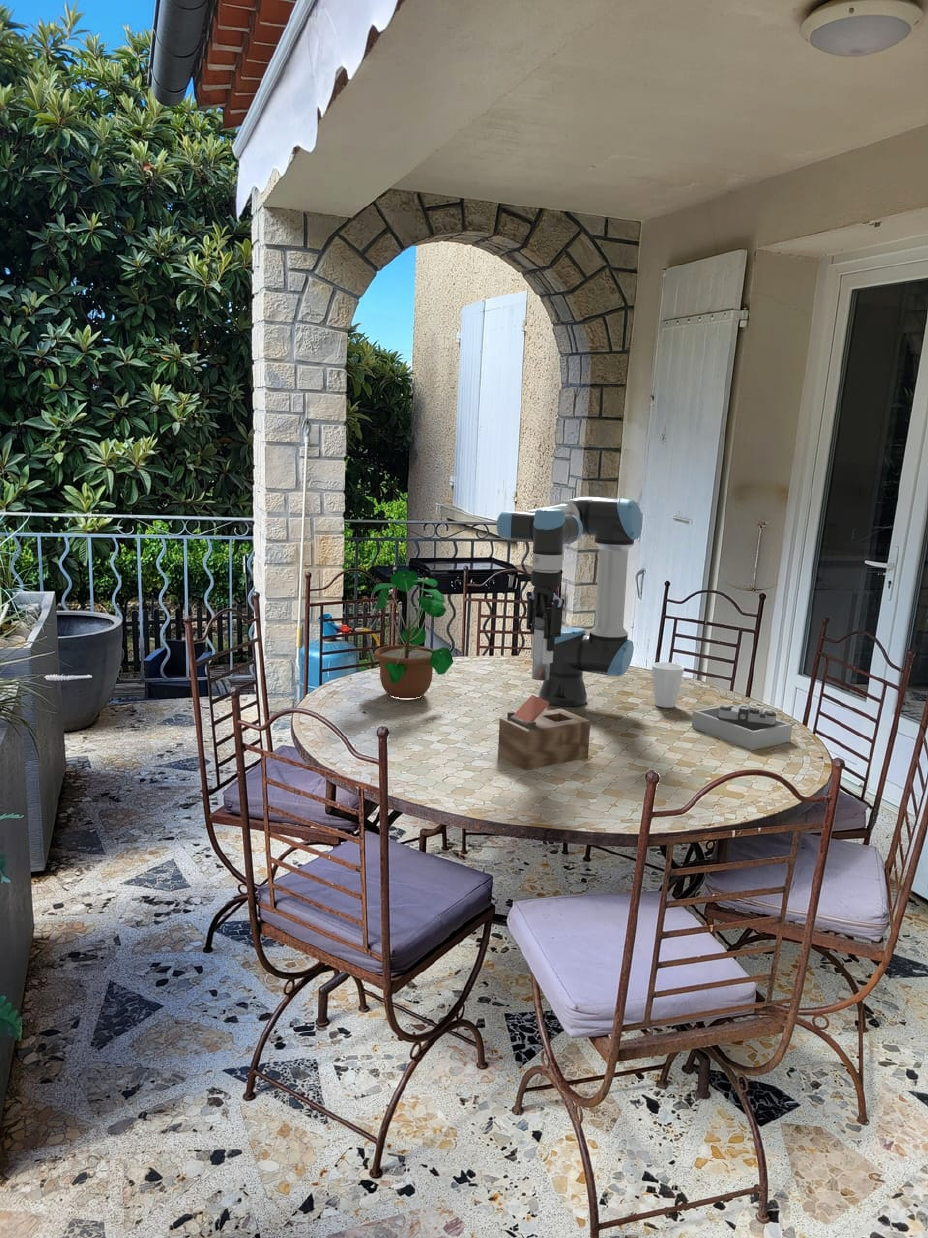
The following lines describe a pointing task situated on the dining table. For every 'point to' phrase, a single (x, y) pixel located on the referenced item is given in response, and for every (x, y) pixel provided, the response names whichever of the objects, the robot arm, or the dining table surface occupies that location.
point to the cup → (666, 683)
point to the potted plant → (411, 642)
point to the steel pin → (539, 651)
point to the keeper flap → (530, 710)
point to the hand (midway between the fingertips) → (541, 660)
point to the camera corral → (740, 730)
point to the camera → (747, 717)
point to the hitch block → (544, 739)
